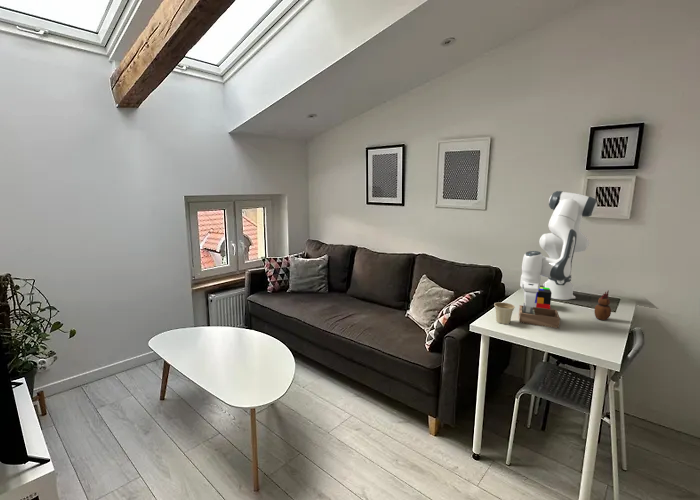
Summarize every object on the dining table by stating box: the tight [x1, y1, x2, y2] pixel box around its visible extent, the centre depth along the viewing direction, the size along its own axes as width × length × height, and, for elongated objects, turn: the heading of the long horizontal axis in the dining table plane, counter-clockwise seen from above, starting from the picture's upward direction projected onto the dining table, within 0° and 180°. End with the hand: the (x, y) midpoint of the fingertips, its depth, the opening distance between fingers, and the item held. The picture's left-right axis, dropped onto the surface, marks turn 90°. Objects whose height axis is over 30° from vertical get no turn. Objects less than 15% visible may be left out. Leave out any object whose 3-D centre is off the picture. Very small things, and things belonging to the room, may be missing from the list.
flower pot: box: [493, 301, 516, 325], centre depth 178 cm, size 9×9×9 cm
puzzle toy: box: [534, 286, 552, 309], centre depth 202 cm, size 10×10×10 cm
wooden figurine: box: [593, 290, 612, 321], centre depth 182 cm, size 7×6×15 cm
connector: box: [522, 302, 533, 314], centre depth 182 cm, size 4×4×7 cm
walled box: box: [518, 304, 561, 329], centre depth 180 cm, size 13×17×5 cm
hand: (527, 310), depth 182 cm, fingers closed on connector, 4 cm apart
